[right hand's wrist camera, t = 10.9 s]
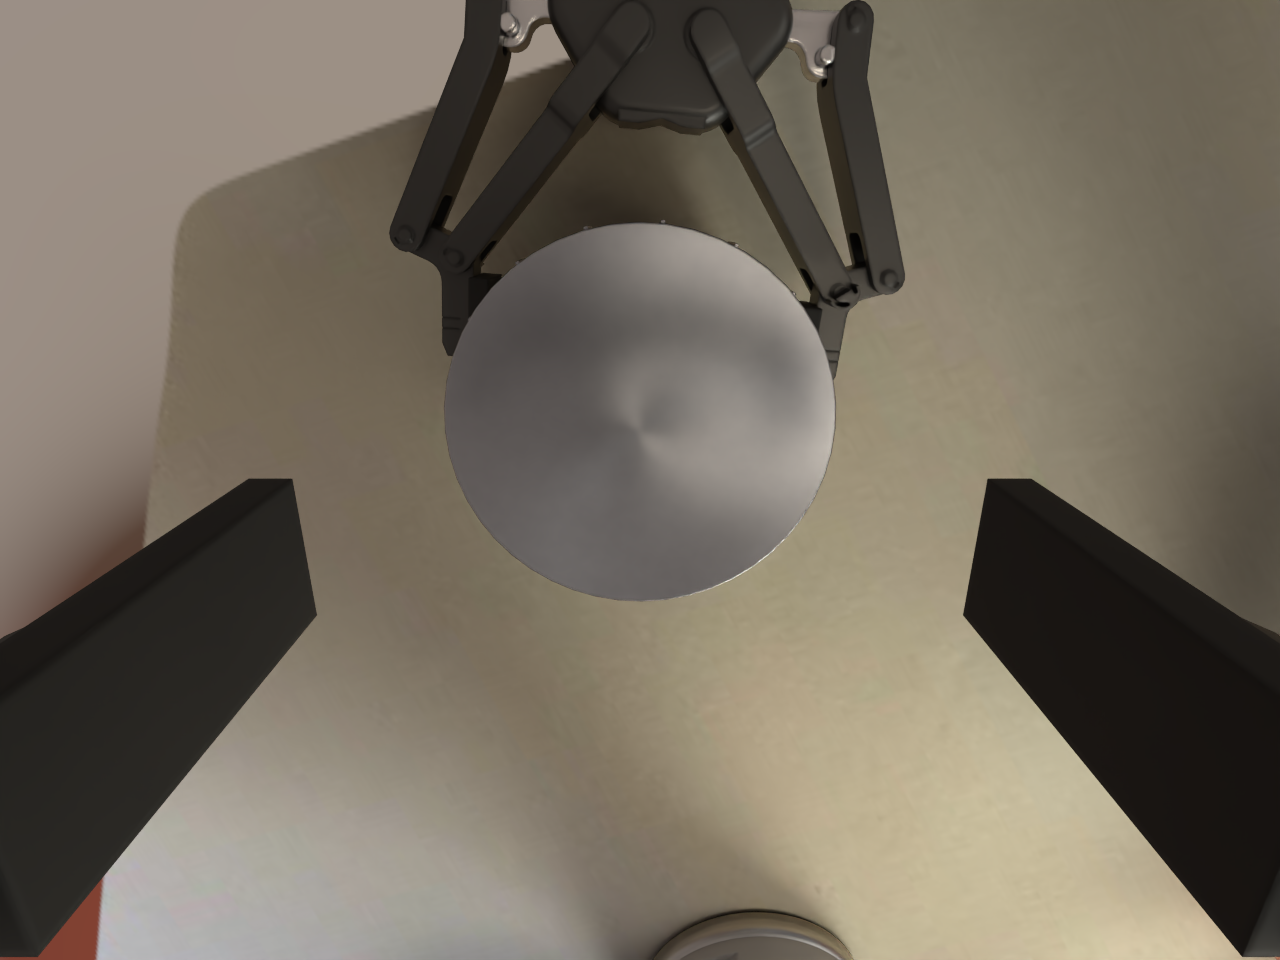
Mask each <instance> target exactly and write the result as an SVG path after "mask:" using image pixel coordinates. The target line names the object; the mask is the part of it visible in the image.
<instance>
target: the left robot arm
mask: <svg viewBox="0 0 1280 960" xmlns="http://www.w3.org/2000/svg"><path fill="white" fill-rule="evenodd" d="M873 23H874V17H873V11H872V9H871V7H870V6H869V5H868V4H867V3H866V2H864V1H861V0H855V1H851V2H849V3H848V4H847V5H845V6H844V7H843V8H842V9H841V10H839V11H829V10H800V9H792V7H791V4H790V2H789V0H466V8H465V28H464V39H463V42H462V44H461V47H460V49H459V52H458V54H457V57H456V59H455V62H454V65H453V67H452V70H451V72H450V75H449V77H448V80H447V82H446V85H445V88H444V90H443V93H442V95H441V98H440V100H439V103H438V106H437V108H436V111H435V113H434V116H433V118H432V121H431V124H430V126H429V129H428V131H427V134H426V136H425V139H424V142H423V144H422V147H421V149H420V152H419V154H418V157H417V160H416V162H415V165H414V167H413V170H412V172H411V175H410V178H409V180H408V183H407V185H406V188H405V190H404V193H403V196H402V198H401V201H400V203H399V206H398V208H397V211H396V213H395V216H394V219H393V221H392V224H391V226H390V232H389V234H390V239H391V241H392V243H393V244H394V246H395V247H397V248H398V249H399V250H402V251H405V252H410V253H413V254H415V255H417V256H419V257H421V258H423V259H426V260H428V261H429V262H431V263H433V264H434V265H435V266H436V267H437V269H438V270H439V272H440V275H441V279H442V316H443V318H442V326H443V329H442V342H443V345H444V348H445V350H446V353H447V355H448V356H453V354H454V352H455V349H456V347H457V344H458V342H459V339H460V337H461V334H462V332H463V330H464V328H465V326H466V325H467V323H468V319H469V317H471V316H472V314H473V312H474V310H475V309H476V308H477V306H478V305H479V304H480V302H481V301H482V300H483V298H484V297H485V296H486V295H487V293H488V292H489V291H490V289H491V288H492V287H493V286H494V285H495V284H496V283H497V282H498V281H499V280H500V279H501V278H502V274H491V273H481V266H483V265H484V263H483V261H484V260H485V259H486V258H487V256H488V255H489V254H490V252H491V251H492V250H493V249H494V247H495V246H496V245H497V244H498V242H499V241H500V240H501V238H502V237H503V236H504V235H505V233H506V232H507V231H508V230H509V228H510V227H511V226H512V224H513V223H514V222H515V221H516V219H517V218H518V217H519V216H520V214H521V213H522V212H523V210H524V209H525V208H526V207H527V205H528V204H529V203H530V202H531V200H532V199H533V198H534V196H535V195H536V194H537V193H538V191H539V190H540V189H541V188H542V186H543V185H544V184H545V182H546V181H547V180H548V179H549V177H550V176H551V175H552V174H553V172H554V171H555V170H556V168H557V167H558V166H559V165H560V163H561V162H562V161H563V160H564V158H565V157H566V156H567V154H568V153H569V152H570V151H571V149H572V148H573V147H574V146H575V144H576V143H577V142H578V141H579V140H580V139H581V138H582V137H583V136H584V135H585V134H586V133H587V132H588V130H589V129H590V128H591V127H592V125H593V124H594V123H595V121H596V120H597V119H598V118H599V116H600V115H601V114H603V115H604V116H605V117H606V118H607V119H609V120H610V121H612V122H613V123H615V124H618V125H619V128H628V129H644V128H650V127H655V126H663V127H666V128H668V129H671V130H673V131H676V132H678V133H681V134H691V135H701V133H703V132H707V131H710V130H712V129H714V128H716V127H718V126H719V125H720V127H721V129H722V131H723V133H724V135H725V137H726V139H727V141H728V143H729V144H730V146H731V148H732V149H733V151H734V152H735V153H736V155H737V156H738V157H739V159H740V161H741V163H742V165H743V167H744V169H745V171H746V172H747V174H748V176H749V178H750V180H751V182H752V184H753V186H754V188H755V190H756V191H757V193H758V195H759V197H760V199H761V201H762V203H763V205H764V207H765V208H766V210H767V212H768V214H769V216H770V218H771V220H772V222H773V224H774V226H775V227H776V229H777V231H778V233H779V235H780V237H781V239H782V241H783V243H784V245H785V246H786V248H787V250H788V252H789V254H790V256H791V258H792V260H793V262H794V263H795V265H796V267H797V269H798V271H799V273H800V275H801V277H802V279H803V281H804V282H805V284H806V286H807V288H808V290H809V292H810V294H811V296H810V302H805V301H799V302H800V303H801V304H802V306H803V307H804V309H805V310H806V312H807V314H808V315H809V317H810V319H811V320H812V322H813V324H814V326H815V327H816V329H817V331H818V334H819V336H820V338H821V341H822V343H823V346H824V348H825V351H826V353H827V357H828V361H829V364H830V368H831V372H832V376H833V380H834V378H835V376H836V371H837V366H838V360H839V355H840V349H841V344H842V338H843V333H844V327H845V322H846V317H847V314H848V312H849V310H850V309H851V308H852V307H853V306H855V305H856V304H857V302H858V301H861V300H863V299H867V298H870V297H874V296H878V295H882V294H885V295H889V294H893V293H895V292H897V291H898V290H899V289H900V288H901V287H902V285H903V283H904V280H905V272H904V267H903V262H902V257H901V251H900V246H899V241H898V236H897V231H896V226H895V221H894V215H893V210H892V205H891V200H890V195H889V190H888V184H887V179H886V174H885V169H884V164H883V159H882V153H881V148H880V143H879V138H878V133H877V128H876V123H875V117H874V112H873V107H872V102H871V97H870V92H869V86H868V81H867V71H868V63H869V55H870V47H871V39H872V31H873ZM544 24H552V25H553V27H554V30H555V32H556V34H557V36H558V37H559V39H560V41H561V43H562V45H563V46H564V48H565V50H566V52H567V54H568V56H569V57H570V59H571V61H572V63H573V65H574V66H575V67H574V68H573V69H572V71H571V72H570V73H569V75H568V76H567V77H566V78H565V80H564V81H563V82H562V84H561V85H560V86H559V88H558V89H557V90H556V92H555V93H554V94H553V96H552V97H551V99H550V101H549V103H548V105H547V107H546V109H545V111H544V112H543V113H542V115H541V116H540V117H539V119H538V120H537V121H536V123H535V124H534V125H533V126H532V128H531V129H530V130H529V132H528V133H527V134H526V136H525V137H524V138H523V140H522V141H521V142H520V144H519V145H518V146H517V148H516V149H515V150H514V151H513V153H512V154H511V155H510V157H509V158H508V159H507V161H506V162H505V163H504V165H503V166H502V167H501V169H500V170H499V171H498V172H497V174H496V175H495V176H494V178H493V179H492V180H491V182H490V183H489V184H488V186H487V187H486V188H485V190H484V191H483V192H482V194H481V195H480V196H479V197H478V199H477V200H476V201H475V203H474V204H473V205H472V207H471V208H470V209H469V211H468V212H467V213H466V215H465V216H464V217H463V219H462V220H461V221H460V222H459V224H458V225H457V226H456V228H455V229H454V230H453V232H451V231H449V230H447V229H445V228H444V225H445V223H446V221H447V218H448V216H449V213H450V211H451V209H452V206H453V204H454V201H455V199H456V196H457V194H458V192H459V189H460V187H461V184H462V182H463V180H464V177H465V175H466V172H467V170H468V167H469V165H470V163H471V160H472V158H473V155H474V153H475V151H476V148H477V146H478V143H479V141H480V139H481V136H482V134H483V131H484V129H485V126H486V124H487V122H488V119H489V117H490V114H491V112H492V110H493V107H494V105H495V102H496V100H497V97H498V95H499V93H500V90H501V88H502V85H503V83H504V80H505V77H506V74H507V71H508V67H509V63H510V59H511V52H513V53H519V52H522V51H523V50H525V49H526V48H527V47H528V45H529V44H530V41H531V38H532V35H533V33H534V31H535V30H536V29H537V28H538V27H539V26H541V25H544ZM784 48H789V49H791V50H793V51H795V53H796V54H797V55H798V57H799V59H800V64H801V70H802V73H803V75H804V77H805V78H806V79H807V80H809V81H811V82H815V83H817V102H818V108H819V114H820V119H821V123H822V128H823V133H824V137H825V142H826V146H827V151H828V156H829V160H830V165H831V169H832V174H833V179H834V183H835V188H836V192H837V197H838V201H839V206H840V211H841V215H842V220H843V224H844V229H845V234H846V238H847V243H848V247H849V252H850V257H851V261H852V265H851V266H847V267H845V266H844V264H843V262H842V260H841V258H840V256H839V254H838V252H837V250H836V248H835V246H834V244H833V242H832V240H831V238H830V236H829V234H828V232H827V230H826V228H825V226H824V224H823V222H822V220H821V218H820V216H819V214H818V212H817V210H816V208H815V206H814V204H813V202H812V200H811V198H810V196H809V194H808V192H807V190H806V188H805V186H804V184H803V182H802V180H801V178H800V176H799V175H798V173H797V171H796V169H795V167H794V165H793V163H792V161H791V159H790V157H789V155H788V153H787V151H786V149H785V147H784V145H783V143H782V141H781V139H780V137H779V135H778V133H777V130H776V125H775V122H774V119H773V116H772V114H771V112H770V110H769V108H768V106H767V104H766V102H765V100H764V98H763V96H762V94H761V92H760V90H759V88H758V86H757V84H756V82H757V81H758V80H759V78H760V77H761V76H762V75H763V73H764V72H765V71H766V70H767V68H768V67H769V66H770V65H771V64H772V62H773V61H774V60H775V59H776V57H777V56H778V55H779V54H780V52H781V51H782V50H783V49H784Z"/></svg>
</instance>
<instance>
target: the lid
mask: <svg viewBox="0 0 1280 960" xmlns="http://www.w3.org/2000/svg"><path fill="white" fill-rule="evenodd" d="M583 228H584V230H582V231H580V232H577V233H574V234H572V235H569V236H566V237H564V238H561V239H558V240H556V241H554V242H552V243H550V244H549V245H547V246H545V247H543V248H541V249H539V250H537V251H536V252H534V253H532V254H531V255H529V256H528V257H527V258H524V259H521V260H518V261H517V262H515V264H516V266H514V267H513V268H512V269H510V270H509V271H508V272H507V273H506V274H505V275H504V276H503V277H502V278H501V279H500V280H499V281H498V282H497V283H496V284H495V285H494V286H493V287H492V288H491V289H490V291H489V292H488V293H487V295H486V296H485V297H484V298H483V300H482V301H481V302H480V304H479V305H478V306H477V308H476V309H475V310H474V312H473V314H472V316H471V317H469V319H468V323H467V325H466V326H465V328H464V330H463V332H462V334H461V337H460V339H459V342H458V344H457V347H456V349H455V352H454V354H453V357H452V361H451V366H450V370H449V374H448V378H447V384H446V394H445V404H444V412H445V433H446V438H447V444H448V450H449V455H450V459H451V462H452V465H453V468H454V471H455V474H456V478H457V480H458V482H459V484H460V486H461V489H462V491H463V493H464V495H465V497H466V499H467V501H468V503H469V504H470V506H471V507H472V509H473V511H474V512H475V514H476V515H477V517H478V519H479V520H480V521H481V523H482V524H483V525H484V526H485V528H486V529H487V530H488V531H489V532H490V534H491V535H492V536H493V537H494V538H495V539H496V540H497V541H498V542H499V543H500V544H501V545H502V546H503V547H504V548H505V549H506V550H507V551H508V552H509V553H510V554H511V555H513V556H514V557H515V558H517V559H518V560H519V561H521V562H522V563H523V564H525V565H526V566H527V567H529V568H530V569H532V570H533V571H535V572H537V573H539V574H540V575H542V576H544V577H546V578H547V579H549V580H551V581H553V582H556V583H558V584H560V585H563V586H565V587H567V588H570V589H572V590H575V591H579V592H582V593H586V594H589V595H593V596H597V597H603V598H608V599H614V600H625V601H654V600H667V599H672V598H678V597H683V596H688V595H691V594H695V593H698V592H701V591H705V590H708V589H711V588H713V587H715V586H718V585H720V584H722V583H725V582H727V581H729V580H731V579H733V578H735V577H737V576H738V575H740V574H742V573H743V572H745V571H747V570H748V569H750V568H752V567H753V566H754V565H756V564H757V563H758V562H760V561H761V560H762V559H764V558H765V557H766V556H768V555H769V554H770V553H771V552H772V551H773V550H774V549H775V548H776V547H777V546H778V545H779V544H780V543H782V542H783V541H784V540H785V539H786V538H787V537H788V535H789V534H790V533H791V532H792V530H793V529H794V528H795V527H796V525H797V524H798V523H799V522H800V520H801V519H802V518H803V516H804V514H805V513H806V511H807V510H808V508H809V506H810V505H811V503H812V501H813V500H814V498H815V496H816V494H817V492H818V489H819V487H820V485H821V483H822V480H823V478H824V476H825V473H826V469H827V466H828V463H829V459H830V456H831V452H832V446H833V440H834V434H835V422H836V400H835V391H834V382H833V376H832V372H831V368H830V364H829V361H828V357H827V353H826V351H825V348H824V346H823V343H822V341H821V338H820V336H819V334H818V331H817V329H816V327H815V326H814V324H813V322H812V320H811V319H810V317H809V315H808V314H807V312H806V310H805V309H804V307H803V306H802V304H801V303H800V302H799V301H798V299H797V298H796V297H795V295H796V294H795V292H793V291H791V290H790V289H789V288H788V287H787V286H786V285H785V284H784V283H783V282H782V281H781V280H780V279H779V278H778V277H777V276H776V275H775V274H774V273H773V272H772V271H771V270H770V269H769V268H767V267H766V266H765V265H763V264H762V263H761V262H759V261H758V260H756V259H755V258H754V257H752V256H751V255H749V254H748V253H747V252H745V251H743V250H741V249H739V248H738V246H739V245H738V244H737V243H733V242H729V241H728V242H726V241H724V240H722V239H720V238H717V237H714V236H712V235H709V234H706V233H703V232H700V231H697V230H695V229H690V228H685V227H680V226H675V225H670V224H665V220H660V221H659V223H650V222H630V223H617V224H609V225H605V226H600V227H596V228H592V227H591V225H590V226H585V227H583Z"/></svg>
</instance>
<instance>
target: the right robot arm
mask: <svg viewBox="0 0 1280 960" xmlns="http://www.w3.org/2000/svg"><path fill="white" fill-rule="evenodd" d="M316 616H317V613H316V608H315V602H314V596H313V591H312V585H311V580H310V574H309V569H308V563H307V558H306V552H305V547H304V541H303V536H302V530H301V524H300V519H299V513H298V508H297V502H296V497H295V491H294V486H293V480H292V479H248V480H246V481H245V482H243V483H242V484H240V485H239V486H237V487H236V488H234V489H233V490H231V491H230V492H228V493H227V494H225V495H223V496H222V497H220V498H219V499H217V500H216V501H214V502H213V503H211V504H210V505H208V506H207V507H205V508H204V509H202V510H201V511H199V512H198V513H196V514H195V515H193V516H192V517H190V518H189V519H187V520H186V521H184V522H183V523H181V524H180V525H178V526H177V527H175V528H174V529H172V530H171V531H169V532H168V533H166V534H165V535H163V536H162V537H160V538H159V539H157V540H156V541H154V542H153V543H151V544H150V545H148V546H146V547H145V548H143V549H142V550H140V551H139V552H137V553H136V554H134V555H133V556H131V557H130V558H128V559H127V560H125V561H124V562H122V563H121V564H119V565H118V566H116V567H115V568H113V569H112V570H110V571H109V572H107V573H106V574H104V575H103V576H101V577H100V578H98V579H97V580H95V581H94V582H92V583H91V584H89V585H88V586H86V587H85V588H83V589H82V590H80V591H79V592H77V593H76V594H74V595H73V596H71V597H69V598H68V599H66V600H65V601H64V602H62V603H61V604H59V605H57V606H56V607H54V608H53V609H51V610H50V611H48V612H47V613H45V614H44V615H42V616H41V617H39V618H38V619H36V620H35V621H33V622H32V623H30V624H29V625H27V626H26V627H24V628H22V629H20V630H17V631H15V632H13V633H11V634H8V635H6V636H4V637H3V638H1V639H0V957H38V956H39V955H40V953H41V952H42V951H43V950H44V949H45V947H46V946H47V945H48V944H49V942H50V941H51V940H52V939H53V938H54V936H55V935H56V934H57V933H58V931H59V930H60V929H61V928H62V926H63V925H64V924H65V923H66V922H67V920H68V919H69V918H70V917H71V915H72V914H73V913H74V912H75V911H76V909H77V908H78V907H79V906H80V904H81V903H82V902H83V901H84V900H85V898H86V897H87V896H88V895H89V893H90V892H91V891H92V890H93V889H94V887H95V886H96V885H97V884H98V882H99V881H100V880H101V879H102V878H103V876H104V875H105V874H106V873H107V871H108V870H109V869H110V868H111V867H112V865H113V864H114V863H115V862H116V860H117V859H118V858H119V857H120V856H121V854H122V853H123V852H124V851H125V849H126V848H127V847H128V846H129V844H130V843H131V842H132V841H133V840H134V838H135V837H136V836H137V835H138V833H139V832H140V831H141V830H142V829H143V827H144V826H145V825H146V824H147V822H148V821H149V820H150V819H151V818H152V816H153V815H154V814H155V813H156V811H157V810H158V809H159V808H160V807H161V805H162V804H163V803H164V802H165V800H166V799H167V798H168V797H169V796H170V794H171V793H172V792H173V791H174V789H175V788H176V787H177V786H178V785H179V783H180V782H181V781H182V780H183V778H184V777H185V776H186V775H187V773H188V772H189V771H190V770H191V769H192V767H193V766H194V765H195V764H196V762H197V761H198V760H199V759H200V758H201V756H202V755H203V754H204V753H205V751H206V750H207V749H208V748H209V747H210V745H211V744H212V743H213V742H214V740H215V739H216V738H217V737H218V736H219V734H220V733H221V732H222V731H223V729H224V728H225V727H226V726H227V725H228V723H229V722H230V721H231V720H232V718H233V717H234V716H235V715H236V714H237V712H238V711H239V710H240V709H241V707H242V706H243V705H244V704H245V703H246V701H247V700H248V699H249V698H250V696H251V695H252V694H253V693H254V691H255V690H256V689H257V688H258V687H259V685H260V684H261V683H262V682H263V680H264V679H265V678H266V677H267V676H268V674H269V673H270V672H271V671H272V669H273V668H274V667H275V666H276V665H277V663H278V662H279V661H280V660H281V658H282V657H283V656H284V655H285V654H286V652H287V651H288V650H289V649H290V647H291V646H292V645H293V644H294V643H295V641H296V640H297V639H298V638H299V636H300V635H301V634H302V633H303V632H304V630H305V629H306V628H307V627H308V625H309V624H310V623H311V622H312V620H313V619H314V618H315V617H316ZM963 616H964V617H965V618H966V619H967V620H968V622H969V623H970V624H971V625H972V627H973V628H974V629H975V630H976V632H977V633H978V634H979V635H980V636H981V638H982V639H983V640H984V641H985V643H986V644H987V645H988V646H989V647H990V649H991V650H992V651H993V652H994V654H995V655H996V656H997V657H998V658H999V660H1000V661H1001V662H1002V663H1003V665H1004V666H1005V667H1006V668H1007V669H1008V671H1009V672H1010V673H1011V674H1012V676H1013V677H1014V678H1015V679H1016V680H1017V682H1018V683H1019V684H1020V685H1021V687H1022V688H1023V689H1024V690H1025V691H1026V693H1027V694H1028V695H1029V696H1030V698H1031V699H1032V700H1033V701H1034V703H1035V704H1036V705H1037V706H1038V707H1039V709H1040V710H1041V711H1042V712H1043V714H1044V715H1045V716H1046V717H1047V718H1048V720H1049V721H1050V722H1051V723H1052V725H1053V726H1054V727H1055V728H1056V729H1057V731H1058V732H1059V733H1060V734H1061V736H1062V737H1063V738H1064V739H1065V740H1066V742H1067V743H1068V744H1069V745H1070V747H1071V748H1072V749H1073V750H1074V751H1075V753H1076V754H1077V755H1078V756H1079V758H1080V759H1081V760H1082V761H1083V762H1084V764H1085V765H1086V766H1087V767H1088V769H1089V770H1090V771H1091V772H1092V773H1093V775H1094V776H1095V777H1096V778H1097V780H1098V781H1099V782H1100V783H1101V785H1102V786H1103V787H1104V788H1105V789H1106V791H1107V792H1108V793H1109V794H1110V796H1111V797H1112V798H1113V799H1114V800H1115V802H1116V803H1117V804H1118V805H1119V807H1120V808H1121V809H1122V810H1123V811H1124V813H1125V814H1126V815H1127V816H1128V818H1129V819H1130V820H1131V821H1132V822H1133V824H1134V825H1135V826H1136V827H1137V829H1138V830H1139V831H1140V832H1141V833H1142V835H1143V836H1144V837H1145V838H1146V840H1147V841H1148V842H1149V843H1150V844H1151V846H1152V847H1153V848H1154V849H1155V851H1156V852H1157V853H1158V854H1159V856H1160V857H1161V858H1162V859H1163V860H1164V862H1165V863H1166V864H1167V865H1168V867H1169V868H1170V869H1171V870H1172V871H1173V873H1174V874H1175V875H1176V876H1177V878H1178V879H1179V880H1180V881H1181V882H1182V884H1183V885H1184V886H1185V887H1186V889H1187V890H1188V891H1189V892H1190V893H1191V895H1192V896H1193V897H1194V898H1195V900H1196V901H1197V902H1198V903H1199V904H1200V906H1201V907H1202V908H1203V909H1204V911H1205V912H1206V913H1207V914H1208V915H1209V917H1210V918H1211V919H1212V920H1213V922H1214V923H1215V924H1216V925H1217V926H1218V928H1219V929H1220V930H1221V931H1222V933H1223V934H1224V935H1225V936H1226V938H1227V939H1228V940H1229V941H1230V942H1231V944H1232V945H1233V946H1234V947H1235V949H1236V950H1237V951H1238V952H1239V953H1240V955H1241V956H1242V957H1280V636H1279V635H1278V634H1276V633H1274V632H1272V631H1270V630H1268V629H1265V628H1263V627H1261V626H1258V625H1256V624H1254V623H1252V622H1249V621H1247V620H1245V619H1243V618H1241V617H1239V616H1238V615H1236V614H1235V613H1233V612H1232V611H1230V610H1229V609H1227V608H1226V607H1224V606H1223V605H1221V604H1220V603H1218V602H1217V601H1215V600H1214V599H1212V598H1211V597H1209V596H1207V595H1206V594H1204V593H1203V592H1201V591H1200V590H1198V589H1197V588H1195V587H1194V586H1192V585H1191V584H1189V583H1188V582H1186V581H1185V580H1183V579H1182V578H1180V577H1179V576H1177V575H1176V574H1174V573H1173V572H1171V571H1170V570H1168V569H1167V568H1165V567H1164V566H1162V565H1161V564H1159V563H1158V562H1156V561H1155V560H1153V559H1152V558H1150V557H1149V556H1147V555H1146V554H1144V553H1143V552H1141V551H1140V550H1138V549H1137V548H1135V547H1134V546H1132V545H1130V544H1129V543H1127V542H1126V541H1124V540H1123V539H1121V538H1120V537H1118V536H1117V535H1115V534H1114V533H1112V532H1111V531H1109V530H1108V529H1106V528H1105V527H1103V526H1102V525H1100V524H1099V523H1097V522H1096V521H1094V520H1093V519H1091V518H1090V517H1088V516H1087V515H1085V514H1084V513H1082V512H1081V511H1079V510H1078V509H1076V508H1075V507H1073V506H1072V505H1070V504H1069V503H1067V502H1066V501H1064V500H1063V499H1061V498H1060V497H1058V496H1057V495H1055V494H1053V493H1052V492H1050V491H1049V490H1047V489H1046V488H1044V487H1043V486H1041V485H1040V484H1038V483H1037V482H1035V481H1034V480H1032V479H988V480H987V486H986V491H985V497H984V502H983V508H982V513H981V519H980V524H979V530H978V536H977V541H976V547H975V552H974V558H973V563H972V569H971V574H970V580H969V585H968V591H967V596H966V602H965V608H964V613H963ZM653 960H853V958H852V956H851V954H850V953H849V951H848V950H847V949H846V947H845V946H844V945H843V944H842V943H841V942H840V941H839V940H838V939H837V938H836V937H834V936H833V935H832V934H831V933H829V932H828V931H826V930H824V929H823V928H821V927H819V926H817V925H815V924H813V923H810V922H808V921H806V920H803V919H799V918H796V917H792V916H788V915H783V914H776V913H765V912H749V913H738V914H730V915H726V916H721V917H717V918H714V919H710V920H707V921H704V922H702V923H699V924H697V925H695V926H693V927H691V928H689V929H687V930H685V931H683V932H682V933H680V934H679V935H677V936H676V937H674V938H673V939H672V940H670V941H669V942H668V943H667V944H666V945H665V946H664V947H663V948H662V949H661V950H660V951H659V952H658V954H657V955H656V956H655V957H654V959H653Z"/></svg>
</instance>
